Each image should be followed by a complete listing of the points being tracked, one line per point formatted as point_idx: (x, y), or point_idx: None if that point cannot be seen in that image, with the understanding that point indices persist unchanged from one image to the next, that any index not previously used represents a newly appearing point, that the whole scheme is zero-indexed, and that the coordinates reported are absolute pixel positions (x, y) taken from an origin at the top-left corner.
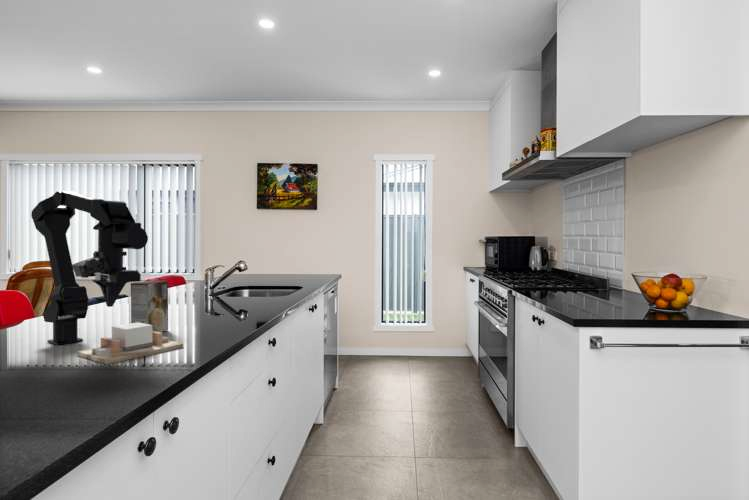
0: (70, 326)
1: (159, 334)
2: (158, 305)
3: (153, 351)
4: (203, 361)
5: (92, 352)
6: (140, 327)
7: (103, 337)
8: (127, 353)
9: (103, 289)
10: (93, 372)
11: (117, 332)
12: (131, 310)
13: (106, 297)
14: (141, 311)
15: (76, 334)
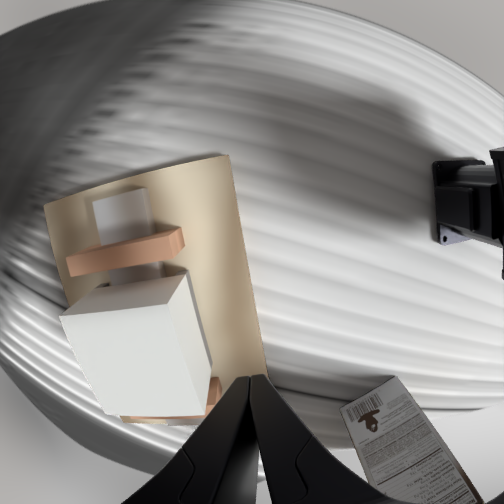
0: (472, 206)
1: None
2: None
3: None
4: (3, 365)
5: (144, 188)
6: (84, 373)
7: (168, 247)
8: (81, 279)
9: (283, 489)
10: (15, 161)
11: (124, 301)
12: (432, 430)
13: (256, 425)
14: (390, 454)
15: (449, 223)
